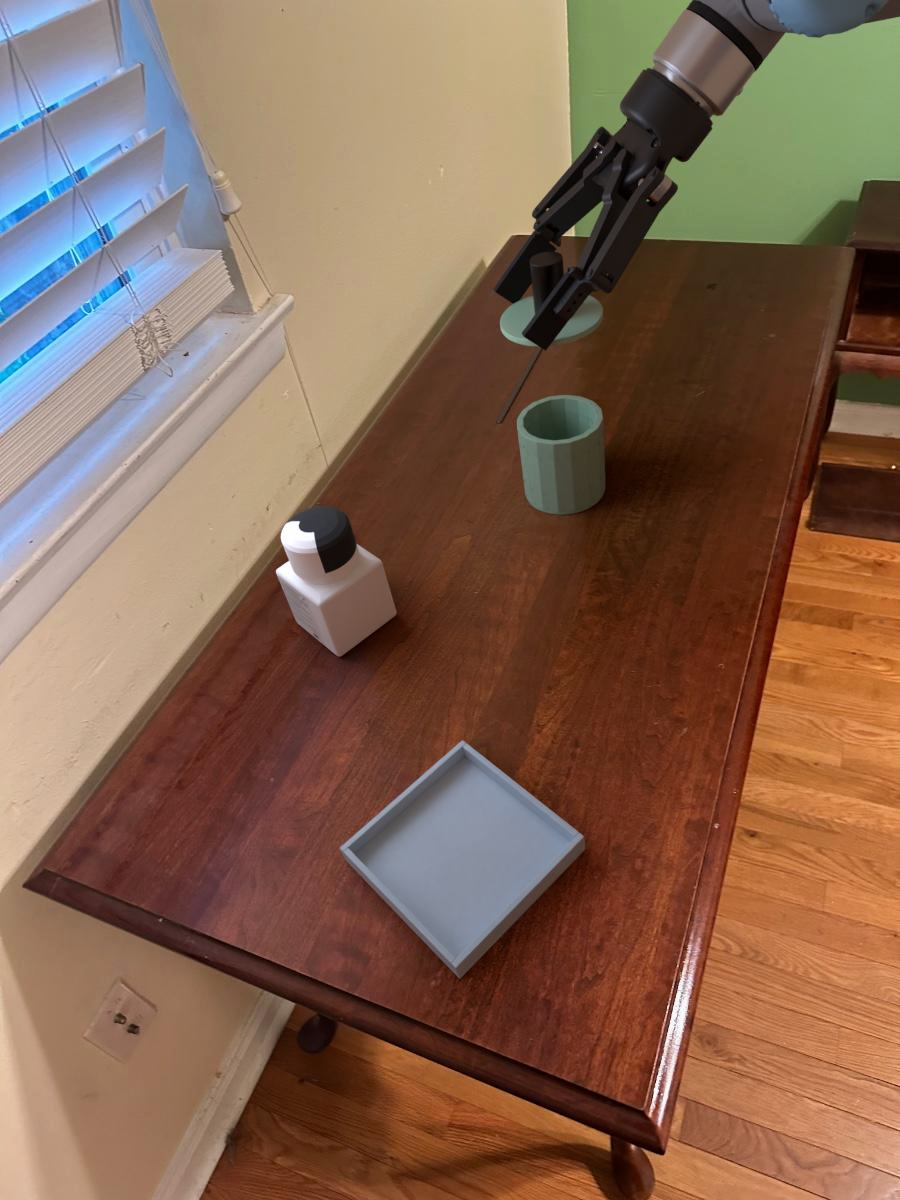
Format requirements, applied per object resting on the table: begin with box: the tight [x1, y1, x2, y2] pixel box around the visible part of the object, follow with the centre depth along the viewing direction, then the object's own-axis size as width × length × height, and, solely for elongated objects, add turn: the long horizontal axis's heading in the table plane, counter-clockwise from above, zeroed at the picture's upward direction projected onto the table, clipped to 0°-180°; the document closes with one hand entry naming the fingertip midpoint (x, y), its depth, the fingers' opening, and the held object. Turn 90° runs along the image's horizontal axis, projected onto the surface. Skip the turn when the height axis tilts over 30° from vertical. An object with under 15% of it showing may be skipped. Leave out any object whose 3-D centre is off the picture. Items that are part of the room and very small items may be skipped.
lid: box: [499, 251, 604, 348], centre depth 80 cm, size 10×10×7 cm
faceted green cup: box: [516, 394, 606, 516], centre depth 93 cm, size 9×9×10 cm
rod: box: [495, 347, 543, 425], centre depth 114 cm, size 1×19×1 cm, turn 160°
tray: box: [339, 739, 586, 979], centre depth 66 cm, size 14×14×2 cm
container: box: [275, 505, 397, 658], centre depth 83 cm, size 8×8×13 cm
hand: (518, 318), depth 81 cm, fingers closed on lid, 9 cm apart
